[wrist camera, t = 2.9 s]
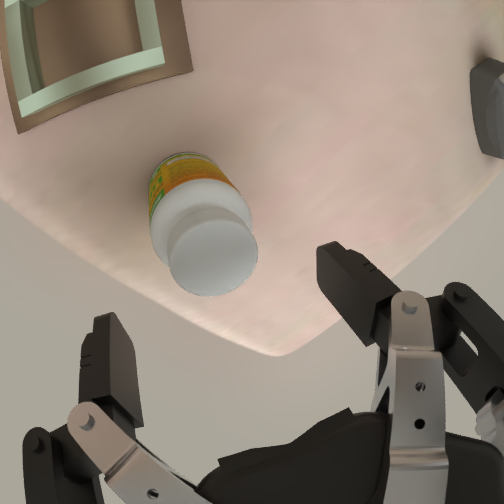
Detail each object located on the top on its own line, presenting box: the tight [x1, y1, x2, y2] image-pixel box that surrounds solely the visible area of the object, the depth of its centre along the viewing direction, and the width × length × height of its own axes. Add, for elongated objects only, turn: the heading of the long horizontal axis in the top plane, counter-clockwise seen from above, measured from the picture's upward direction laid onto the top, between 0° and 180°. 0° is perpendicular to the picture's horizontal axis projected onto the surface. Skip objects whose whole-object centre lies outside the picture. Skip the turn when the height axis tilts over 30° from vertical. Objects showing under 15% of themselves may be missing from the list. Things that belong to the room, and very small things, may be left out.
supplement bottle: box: [149, 153, 258, 296], centre depth 17 cm, size 5×5×10 cm
